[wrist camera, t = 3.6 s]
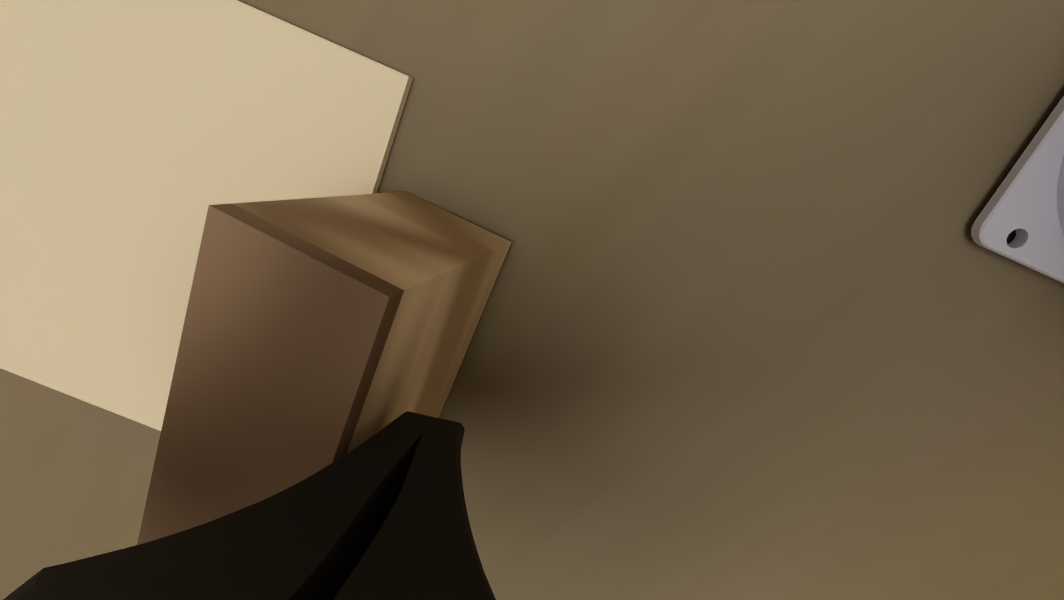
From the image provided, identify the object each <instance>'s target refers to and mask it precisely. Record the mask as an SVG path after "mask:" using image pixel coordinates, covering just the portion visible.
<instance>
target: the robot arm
mask: <svg viewBox="0 0 1064 600" xmlns="http://www.w3.org/2000/svg"><path fill="white" fill-rule="evenodd" d="M1013 230H1016V236H1015V239H1014V240H1013V241H1012V242H1011V243H1010V244H1007V241H1006V239H1007V237H1008V234H1010V233H1011V232H1012V231H1013ZM971 237H972V239H973V241H974V242H975V243H976V244H978V245H979V246H981V247H984V248H986V249H988V250H990V251H992V252H995V253H997V254H999V255H1001V256H1003V257H1006V258H1008V259H1010V260H1012V261H1015V262H1017V263H1019V264H1021V265H1023V266H1026V267H1028V268H1030V269H1032V270H1034V271H1037V272H1039V273H1041V274H1043V275H1045V276H1048V277H1050V278H1052V279H1054V280H1056V281H1059V282H1061V283H1063V284H1064V96H1063V97H1062V99H1061V100H1060V101H1059V103H1058V104H1057V106H1056V107H1055V108H1054V110H1053V111H1052V113H1051V114H1050V116H1049V117H1048V118H1047V120H1046V121H1045V123H1044V124H1043V125H1042V127H1041V128H1040V130H1039V131H1038V132H1037V134H1036V135H1035V137H1034V138H1033V140H1032V141H1031V142H1030V144H1029V145H1028V147H1027V148H1026V149H1025V151H1024V152H1023V154H1022V155H1021V157H1020V158H1019V159H1018V161H1017V162H1016V164H1015V165H1014V166H1013V168H1012V169H1011V171H1010V172H1009V173H1008V175H1007V176H1006V178H1005V179H1004V181H1003V182H1002V183H1001V185H1000V186H999V188H998V189H997V190H996V192H995V193H994V195H993V196H992V198H991V199H990V200H989V202H988V203H987V205H986V206H985V207H984V209H983V210H982V212H981V213H980V214H979V216H978V217H977V219H976V220H975V222H974V224H973V226H972V228H971ZM464 430H465V429H464V427H463V426H462V424H461V423H458V422H454V421H449V420H445V419H440V418H436V417H431V416H427V415H422V414H418V413H413V412H409V411H407V412H405V413H403V414H402V415H400V416H399V417H398V418H396V419H395V420H394V421H392V422H391V423H390V424H388V425H387V426H386V427H384V428H383V429H381V430H380V431H379V432H377V433H376V434H375V435H373V436H372V437H370V438H369V439H368V440H366V441H365V442H363V443H362V444H360V445H359V446H357V447H356V448H354V449H353V450H351V451H350V452H348V453H347V454H346V455H344V456H342V457H341V458H339V459H338V460H336V461H334V462H333V463H331V464H329V465H328V466H326V467H324V468H323V469H321V470H320V471H318V472H316V473H315V474H313V475H311V476H310V477H308V478H306V479H304V480H302V481H300V482H299V483H297V484H295V485H293V486H291V487H289V488H287V489H285V490H283V491H281V492H279V493H277V494H275V495H273V496H271V497H268V498H266V499H264V500H262V501H260V502H257V503H255V504H253V505H250V506H248V507H245V508H243V509H240V510H238V511H235V512H233V513H230V514H228V515H225V516H223V517H220V518H218V519H215V520H213V521H210V522H207V523H205V524H202V525H199V526H196V527H193V528H190V529H187V530H184V531H181V532H178V533H175V534H172V535H169V536H166V537H162V538H159V539H156V540H153V541H149V542H146V543H143V544H139V545H136V546H132V547H129V548H125V549H121V550H117V551H113V552H109V553H105V554H101V555H97V556H93V557H89V558H85V559H81V560H77V561H73V562H69V563H65V564H60V565H56V566H51V567H47V568H43V569H42V570H41V571H39V572H38V573H37V574H35V575H34V576H33V577H31V578H30V579H29V580H28V581H26V582H25V583H24V584H22V585H21V586H20V587H19V588H17V589H16V590H15V591H13V592H12V593H11V594H10V595H8V596H7V597H6V598H5V599H4V600H496V599H495V597H494V594H493V592H492V590H491V587H490V585H489V583H488V580H487V578H486V575H485V573H484V570H483V567H482V564H481V561H480V558H479V555H478V552H477V549H476V546H475V542H474V539H473V535H472V532H471V528H470V524H469V519H468V515H467V509H466V504H465V499H464V492H463V484H462V475H461V460H460V457H461V445H462V440H463V435H464Z"/></svg>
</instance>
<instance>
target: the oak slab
mask: <svg viewBox="0 0 1064 600" xmlns="http://www.w3.org/2000/svg"><path fill="white" fill-rule="evenodd" d="M510 244H511V242H510V241H508V240H506V239H504V238H502V237H500V236H498V235H495V234H493V233H491V232H489V231H487V230H485V229H483V228H481V227H479V226H477V225H475V224H473V223H470V222H468V221H466V220H464V219H462V218H460V217H458V216H456V215H454V214H452V213H450V212H447V211H445V210H443V209H441V208H439V207H437V206H435V205H433V204H431V203H429V202H427V201H424V200H422V199H420V198H418V197H416V196H414V195H412V194H410V193H408V192H405V191H404V192H390V193H376V194H361V195H347V196H332V197H318V198H304V199H289V200H275V201H260V202H246V203H231V204H217V205H209V206H208V211H207V216H206V221H205V225H204V230H203V235H202V240H201V244H200V249H199V254H198V259H197V263H196V268H195V273H194V278H193V282H192V287H191V292H190V297H189V301H188V306H187V311H186V316H185V320H184V325H183V330H182V335H181V339H180V344H179V349H178V354H177V358H176V363H175V368H174V373H173V377H172V382H171V387H170V392H169V396H168V401H167V406H166V411H165V415H164V420H163V425H162V430H161V434H160V439H159V444H158V449H157V453H156V458H155V463H154V468H153V472H152V477H151V482H150V487H149V491H148V496H147V501H146V506H145V510H144V515H143V520H142V525H141V529H140V534H139V539H138V544H137V545H139V544H143V543H146V542H149V541H153V540H156V539H159V538H162V537H166V536H169V535H172V534H175V533H178V532H181V531H184V530H187V529H190V528H193V527H196V526H199V525H202V524H205V523H207V522H210V521H213V520H215V519H218V518H220V517H223V516H225V515H228V514H230V513H233V512H235V511H238V510H240V509H243V508H245V507H248V506H250V505H253V504H255V503H257V502H260V501H262V500H264V499H266V498H268V497H271V496H273V495H275V494H277V493H279V492H281V491H283V490H285V489H287V488H289V487H291V486H293V485H295V484H297V483H299V482H300V481H302V480H304V479H306V478H308V477H310V476H311V475H313V474H315V473H316V472H318V471H320V470H321V469H323V468H324V467H326V466H328V465H329V464H331V463H333V462H334V461H336V460H338V459H339V458H341V457H342V456H344V455H346V454H347V453H348V452H350V451H351V450H353V449H354V448H356V447H357V446H359V445H360V444H362V443H363V442H365V441H366V440H368V439H369V438H370V437H372V436H373V435H375V434H376V433H377V432H379V431H380V430H381V429H383V428H384V427H386V426H387V425H388V424H390V423H391V422H392V421H394V420H395V419H396V418H398V417H399V416H400V415H402V414H403V413H405V412H407V411H409V412H413V413H418V414H422V415H427V416H431V417H436V418H439V416H440V414H441V411H442V409H443V407H444V404H445V402H446V399H447V397H448V394H449V392H450V390H451V387H452V385H453V382H454V380H455V377H456V375H457V373H458V370H459V368H460V365H461V363H462V361H463V358H464V356H465V353H466V351H467V348H468V346H469V344H470V341H471V339H472V336H473V334H474V332H475V329H476V327H477V324H478V322H479V319H480V317H481V315H482V312H483V310H484V307H485V305H486V302H487V300H488V298H489V295H490V293H491V290H492V288H493V286H494V283H495V281H496V278H497V276H498V273H499V271H500V269H501V266H502V264H503V261H504V259H505V257H506V254H507V252H508V249H509V247H510Z"/></svg>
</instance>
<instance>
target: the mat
mask: <svg viewBox="0 0 1064 600" xmlns="http://www.w3.org/2000/svg"><path fill="white" fill-rule="evenodd" d="M412 80H413V78H412V77H410V76H407V75H405V74H403V73H401V72H398V71H396V70H394V69H392V68H389V67H387V66H385V65H383V64H380V63H378V62H376V61H374V60H371V59H369V58H367V57H365V56H362V55H360V54H358V53H356V52H353V51H351V50H349V49H347V48H344V47H342V46H340V45H337V44H335V43H333V42H331V41H328V40H326V39H324V38H322V37H319V36H317V35H315V34H313V33H310V32H308V31H306V30H304V29H301V28H299V27H297V26H295V25H292V24H290V23H288V22H286V21H283V20H281V19H279V18H277V17H274V16H272V15H270V14H267V13H265V12H263V11H261V10H258V9H256V8H254V7H252V6H249V5H247V4H245V3H243V2H240V1H238V0H0V368H1V369H4V370H6V371H9V372H12V373H14V374H17V375H19V376H22V377H24V378H27V379H29V380H32V381H34V382H37V383H40V384H42V385H45V386H47V387H50V388H52V389H55V390H57V391H60V392H63V393H65V394H68V395H70V396H73V397H75V398H78V399H80V400H83V401H86V402H88V403H91V404H93V405H96V406H98V407H101V408H103V409H106V410H108V411H111V412H114V413H116V414H119V415H121V416H124V417H126V418H129V419H131V420H134V421H137V422H139V423H142V424H144V425H147V426H149V427H152V428H154V429H157V430H160V431H161V430H162V425H163V420H164V415H165V411H166V406H167V401H168V396H169V392H170V387H171V382H172V377H173V373H174V368H175V363H176V358H177V354H178V349H179V344H180V339H181V335H182V330H183V325H184V320H185V316H186V311H187V306H188V301H189V297H190V292H191V287H192V282H193V278H194V273H195V268H196V263H197V259H198V254H199V249H200V244H201V240H202V235H203V230H204V225H205V221H206V216H207V211H208V206H209V205H217V204H231V203H246V202H260V201H275V200H289V199H304V198H318V197H332V196H347V195H361V194H376V193H377V191H378V188H379V185H380V181H381V178H382V175H383V172H384V169H385V166H386V162H387V159H388V156H389V153H390V150H391V147H392V144H393V140H394V137H395V134H396V131H397V128H398V125H399V121H400V118H401V115H402V112H403V109H404V106H405V102H406V99H407V96H408V93H409V90H410V87H411V83H412Z"/></svg>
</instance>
